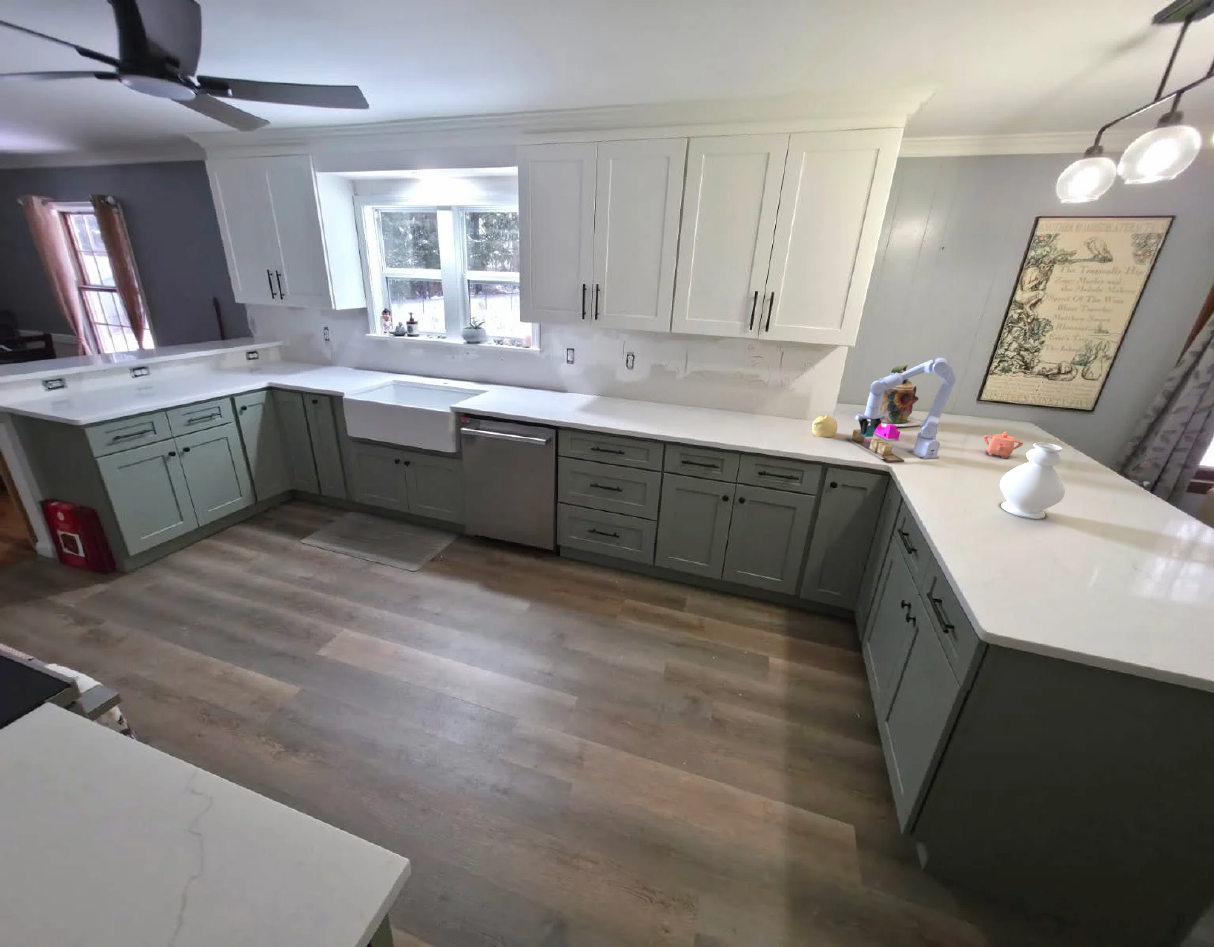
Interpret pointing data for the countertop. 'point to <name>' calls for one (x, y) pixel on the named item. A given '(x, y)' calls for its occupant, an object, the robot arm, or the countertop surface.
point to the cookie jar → (899, 403)
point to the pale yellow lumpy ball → (824, 426)
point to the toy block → (888, 431)
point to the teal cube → (869, 431)
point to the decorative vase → (1034, 483)
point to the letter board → (867, 445)
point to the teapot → (1001, 444)
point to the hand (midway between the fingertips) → (867, 433)
